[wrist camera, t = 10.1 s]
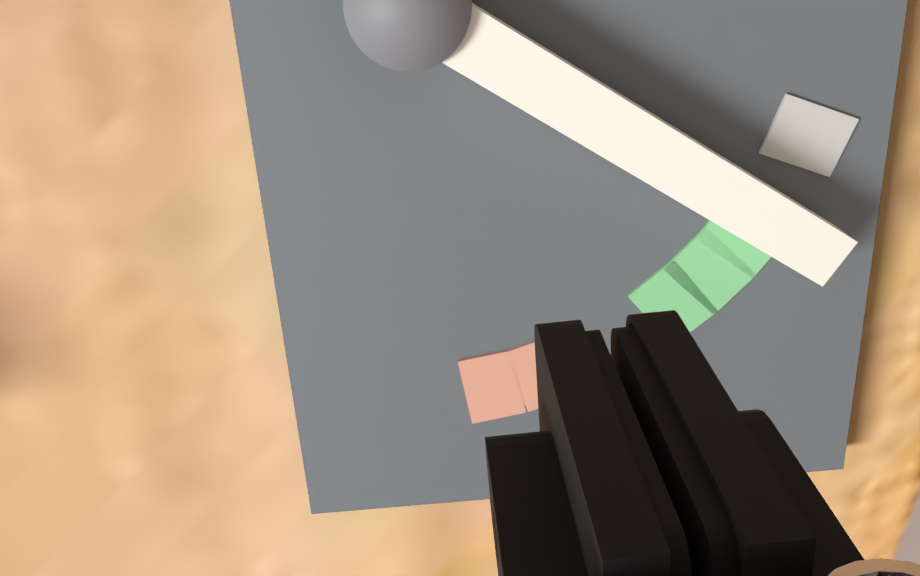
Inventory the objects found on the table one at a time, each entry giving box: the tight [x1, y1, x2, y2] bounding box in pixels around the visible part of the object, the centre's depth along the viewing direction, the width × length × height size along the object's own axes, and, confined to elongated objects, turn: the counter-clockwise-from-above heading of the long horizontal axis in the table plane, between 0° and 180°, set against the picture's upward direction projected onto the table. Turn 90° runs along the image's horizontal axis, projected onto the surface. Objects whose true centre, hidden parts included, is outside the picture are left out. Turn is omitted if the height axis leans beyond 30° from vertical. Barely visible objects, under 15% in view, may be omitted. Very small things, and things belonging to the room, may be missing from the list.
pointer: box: [343, 0, 858, 287], centre depth 30 cm, size 20×4×2 cm, turn 60°
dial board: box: [229, 0, 908, 514], centre depth 33 cm, size 26×24×2 cm
